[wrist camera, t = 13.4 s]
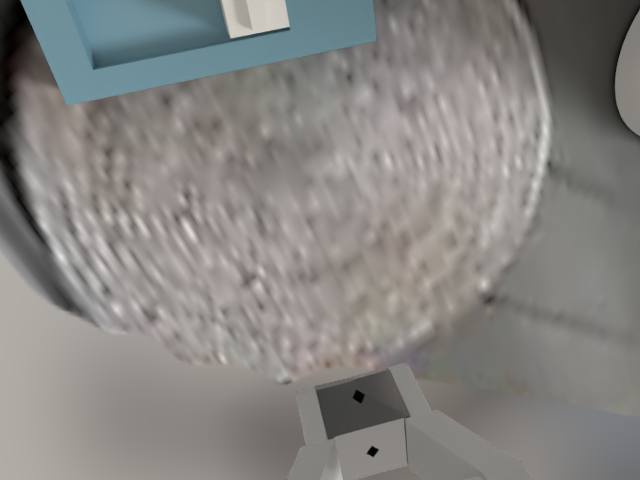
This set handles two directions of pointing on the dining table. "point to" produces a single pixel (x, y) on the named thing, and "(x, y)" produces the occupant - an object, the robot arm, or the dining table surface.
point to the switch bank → (177, 40)
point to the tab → (253, 16)
